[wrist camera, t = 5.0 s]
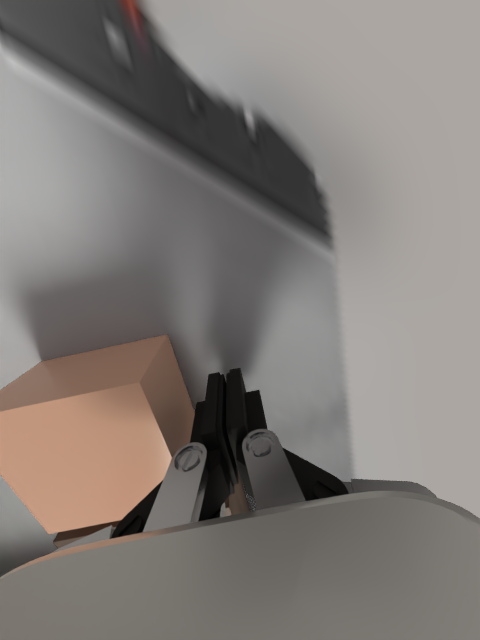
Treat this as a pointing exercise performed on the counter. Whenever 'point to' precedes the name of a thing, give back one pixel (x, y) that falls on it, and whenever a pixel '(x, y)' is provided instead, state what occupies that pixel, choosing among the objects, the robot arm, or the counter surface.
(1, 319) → the counter surface
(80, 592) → the robot arm
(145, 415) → the terracotta block
